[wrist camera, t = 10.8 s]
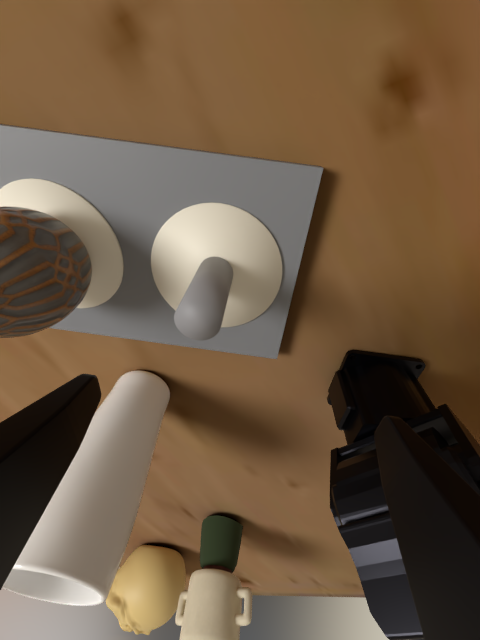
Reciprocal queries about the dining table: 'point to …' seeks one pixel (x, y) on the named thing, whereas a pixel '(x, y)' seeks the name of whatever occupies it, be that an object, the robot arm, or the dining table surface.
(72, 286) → the vase
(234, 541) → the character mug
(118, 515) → the white tapered cylinder
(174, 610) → the sculpture
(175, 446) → the dining table surface
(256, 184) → the board
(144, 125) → the dining table surface
